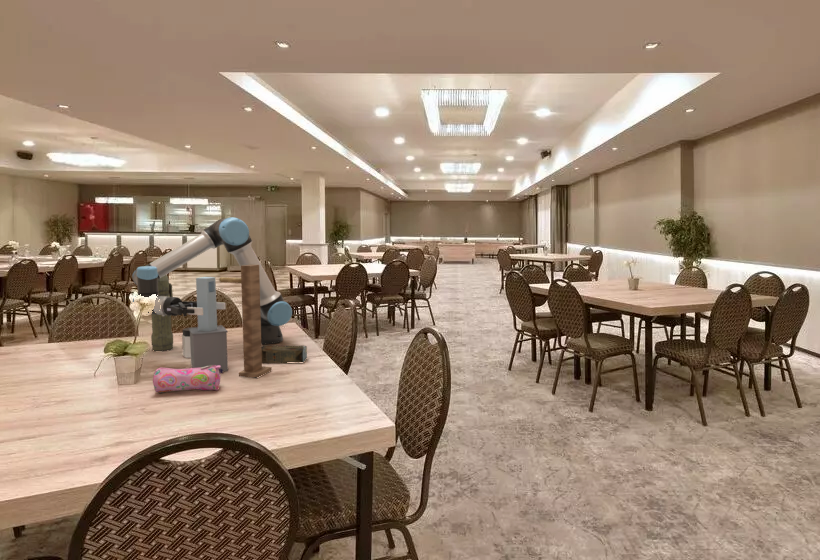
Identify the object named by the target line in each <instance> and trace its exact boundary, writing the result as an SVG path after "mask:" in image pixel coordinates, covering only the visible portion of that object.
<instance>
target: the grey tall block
mask: <svg viewBox="0 0 820 560" xmlns="http://www.w3.org/2000/svg"><path fill="white" fill-rule="evenodd" d="M216 282H217V281H216V277H214V276H202V277H201V276H200V277H195V285H196V286H195V288H196V301H197V308H203V315H197V327H198V331H212V330H215V329H217V326H218V316H217V315H218V314H217V312H218V311H217V310H218V309H217V307H216V302H217V287H216V284H217V283H216Z"/></svg>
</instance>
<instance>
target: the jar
mask: <svg viewBox="0 0 820 560" xmlns="http://www.w3.org/2000/svg"><path fill="white" fill-rule="evenodd" d="M197 327H198V326H191V327H186V328H183V329H182V335H181V340H182V341H181V344H182V357H184V358H185V359H191V347H190V331H189V328H197Z"/></svg>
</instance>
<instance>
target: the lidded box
mask: <svg viewBox="0 0 820 560" xmlns="http://www.w3.org/2000/svg"><path fill="white" fill-rule="evenodd" d="M196 327H197V328H190V327H188V328H189V331H190V347H191V358H190V366H191V367H190V368H201V367H205V366H208V367H209V365H216V366H217V365H220V366H221V367H220V368H218V369H222V370H223V372H228V371H229V366H228V365H229V364H228V363H229V362H228V361H229V360H228V338H227V337H228V336H227V334H228V330H227V329H226V327H225V326H223V325H217V329H215V330H212V331H198V326H196Z"/></svg>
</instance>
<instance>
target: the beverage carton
mask: <svg viewBox="0 0 820 560" xmlns="http://www.w3.org/2000/svg"><path fill="white" fill-rule="evenodd" d="M261 350H262V364H288V363H287V362H304V361H305V362H306V360H307V359H308V357H307V356H308V353H307V352H308V351H307V350H308V347H307V346H306V345H285V344H284V345H283V344H282V345H279V344H275V345H274V344H262V345H261ZM306 358H307V359H306ZM305 359H306V360H305ZM305 362H304V363H305Z"/></svg>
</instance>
